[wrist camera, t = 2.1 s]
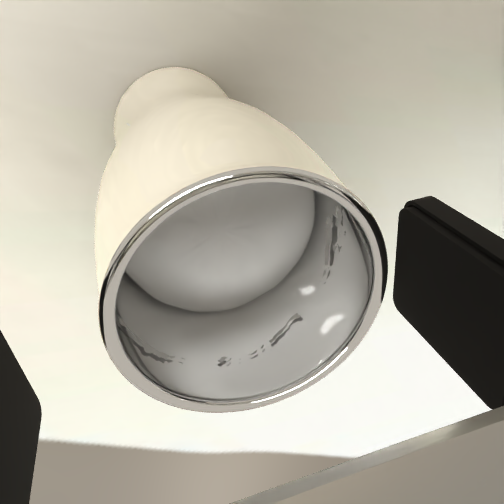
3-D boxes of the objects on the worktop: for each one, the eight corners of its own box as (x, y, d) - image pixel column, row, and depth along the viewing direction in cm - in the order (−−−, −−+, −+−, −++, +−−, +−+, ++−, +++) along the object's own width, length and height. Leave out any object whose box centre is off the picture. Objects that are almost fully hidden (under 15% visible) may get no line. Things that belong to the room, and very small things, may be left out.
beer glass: (220, 35, 21) (381, 102, 8) (258, 169, 24) (408, 355, 12) (77, 84, 20) (12, 237, 8) (139, 213, 24) (164, 457, 11)
